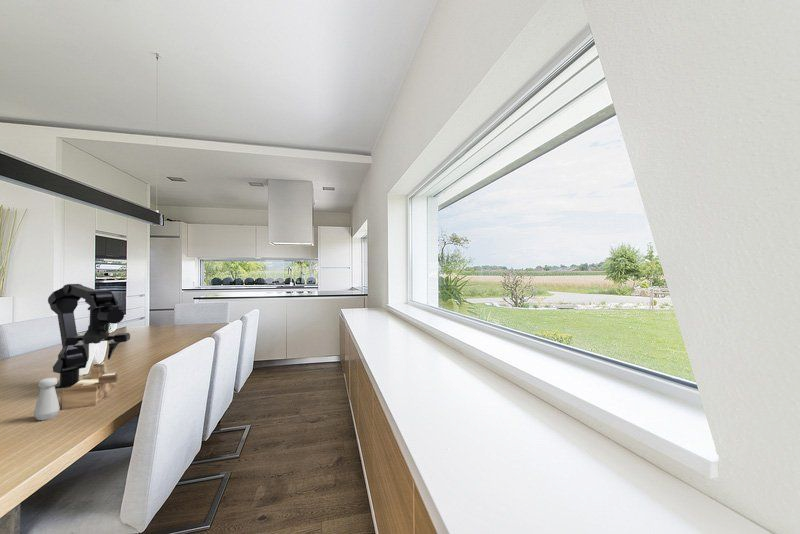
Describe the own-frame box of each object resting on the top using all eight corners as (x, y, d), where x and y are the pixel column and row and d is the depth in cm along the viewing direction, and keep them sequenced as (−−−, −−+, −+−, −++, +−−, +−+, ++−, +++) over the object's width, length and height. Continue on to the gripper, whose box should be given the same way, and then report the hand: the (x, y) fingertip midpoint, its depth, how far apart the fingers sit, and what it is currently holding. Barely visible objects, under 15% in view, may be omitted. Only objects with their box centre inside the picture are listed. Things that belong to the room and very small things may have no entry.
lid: (89, 378, 131) (89, 363, 131) (116, 375, 135) (116, 361, 135) (69, 393, 116) (70, 376, 116) (100, 389, 120) (101, 373, 120)
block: (100, 382, 122) (101, 375, 122) (117, 380, 124) (117, 374, 124) (98, 384, 119) (98, 377, 119) (115, 382, 122) (115, 376, 122)
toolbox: (88, 388, 131) (88, 371, 131) (116, 385, 135) (117, 369, 135) (61, 409, 112) (62, 390, 112) (95, 405, 116) (96, 386, 116)
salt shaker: (41, 423, 102) (43, 382, 102) (28, 420, 103) (29, 380, 103) (64, 414, 108) (65, 376, 108) (51, 413, 109) (52, 375, 109)
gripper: (57, 326, 117) (56, 368, 117) (122, 323, 125) (121, 363, 125) (71, 321, 127) (70, 360, 127) (131, 319, 135) (129, 356, 135)
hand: (98, 360), depth 128 cm, fingers open, 6 cm apart
